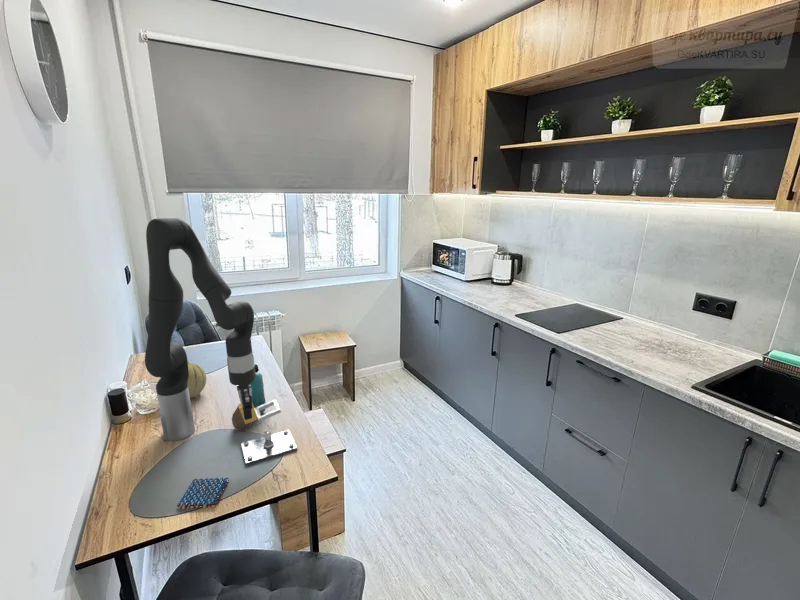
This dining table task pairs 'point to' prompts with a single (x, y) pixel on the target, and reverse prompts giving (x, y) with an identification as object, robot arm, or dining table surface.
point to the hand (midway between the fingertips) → (247, 415)
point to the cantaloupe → (196, 379)
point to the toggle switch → (268, 447)
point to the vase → (239, 421)
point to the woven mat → (203, 493)
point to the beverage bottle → (258, 390)
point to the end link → (256, 410)
